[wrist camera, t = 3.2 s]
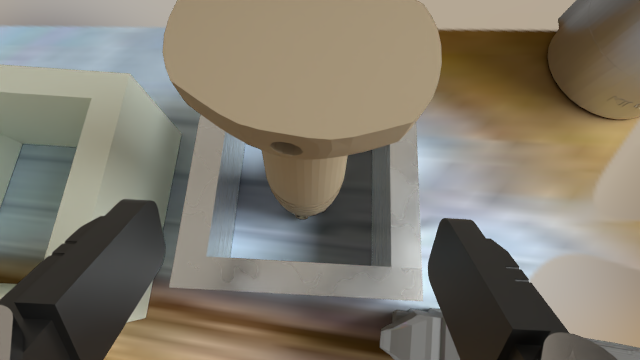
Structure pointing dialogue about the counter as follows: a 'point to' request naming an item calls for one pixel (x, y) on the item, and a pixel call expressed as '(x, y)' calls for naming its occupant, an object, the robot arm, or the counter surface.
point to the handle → (305, 81)
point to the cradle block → (89, 143)
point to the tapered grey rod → (447, 338)
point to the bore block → (289, 276)
